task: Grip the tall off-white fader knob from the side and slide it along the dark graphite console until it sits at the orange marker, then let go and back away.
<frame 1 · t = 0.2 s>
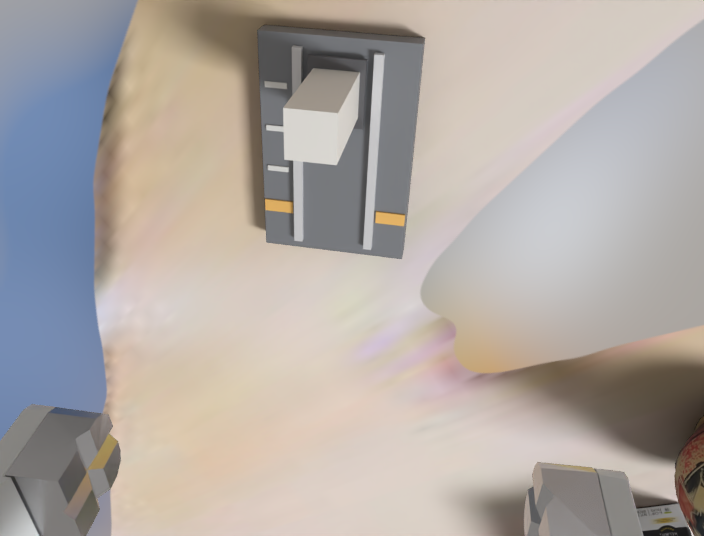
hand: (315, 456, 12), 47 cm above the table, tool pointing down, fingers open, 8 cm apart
console: (339, 146, 60), on the table
tea box: (626, 530, 83), on the table
fader knob: (324, 112, 50), point 8 cm above the table, slide at 0.0 cm
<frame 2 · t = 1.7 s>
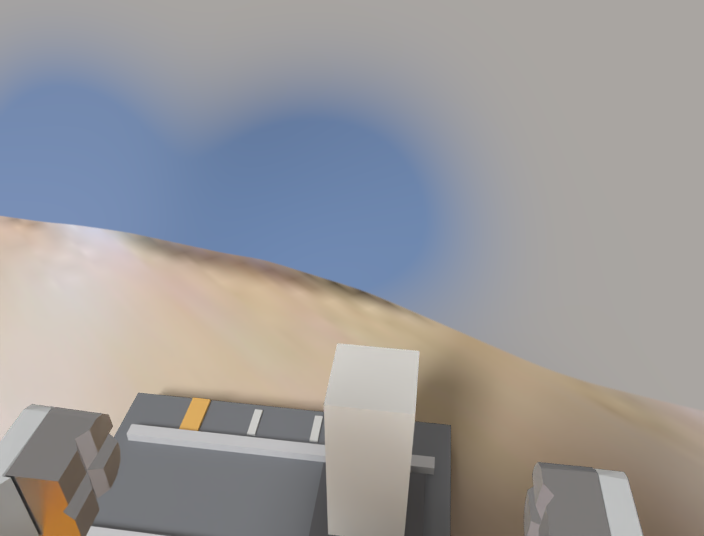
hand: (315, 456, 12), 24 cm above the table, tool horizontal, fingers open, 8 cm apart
console: (267, 521, 37), on the table
fader knob: (371, 450, 32), point 8 cm above the table, slide at 0.0 cm
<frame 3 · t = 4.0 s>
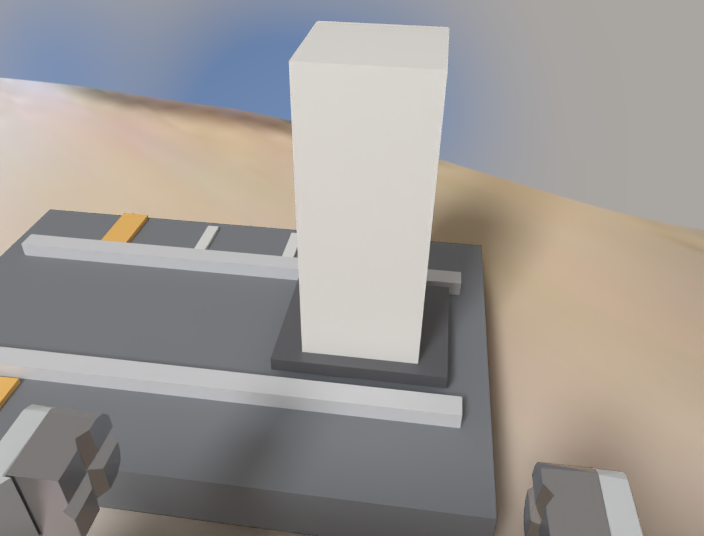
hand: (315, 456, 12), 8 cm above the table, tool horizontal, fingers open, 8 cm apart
console: (217, 359, 25), on the table
fader knob: (370, 208, 20), point 8 cm above the table, slide at 0.0 cm
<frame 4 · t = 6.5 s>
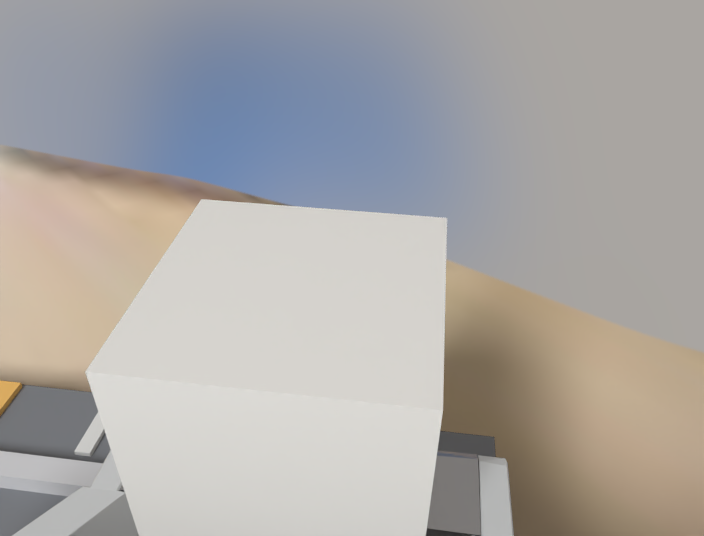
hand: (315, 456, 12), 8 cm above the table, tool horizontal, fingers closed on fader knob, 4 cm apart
fader knob: (308, 511, 12), point 8 cm above the table, slide at 0.0 cm, touching gripper
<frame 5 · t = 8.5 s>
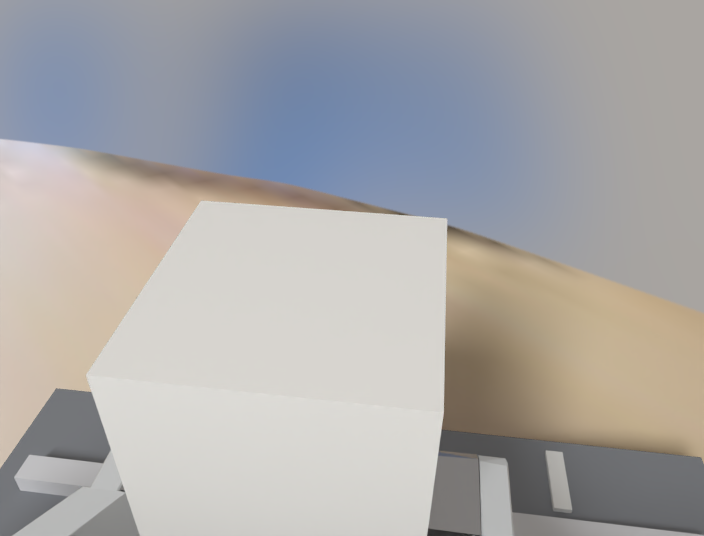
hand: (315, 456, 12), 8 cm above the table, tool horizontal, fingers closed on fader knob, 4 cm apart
fader knob: (309, 512, 12), point 8 cm above the table, slide at 6.2 cm, touching gripper
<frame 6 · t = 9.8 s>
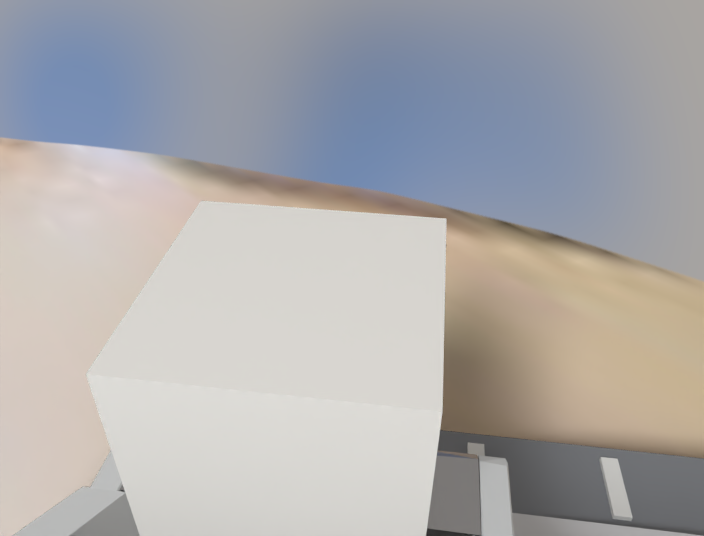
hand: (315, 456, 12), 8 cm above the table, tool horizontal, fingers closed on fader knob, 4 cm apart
fader knob: (308, 511, 12), point 8 cm above the table, slide at 11.9 cm, touching gripper
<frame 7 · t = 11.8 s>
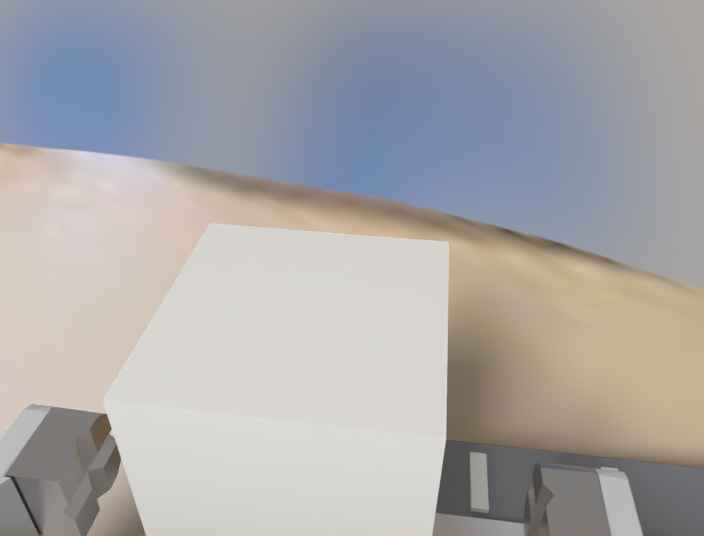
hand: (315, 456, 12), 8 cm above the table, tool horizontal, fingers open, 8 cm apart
fader knob: (313, 525, 12), point 8 cm above the table, slide at 11.9 cm
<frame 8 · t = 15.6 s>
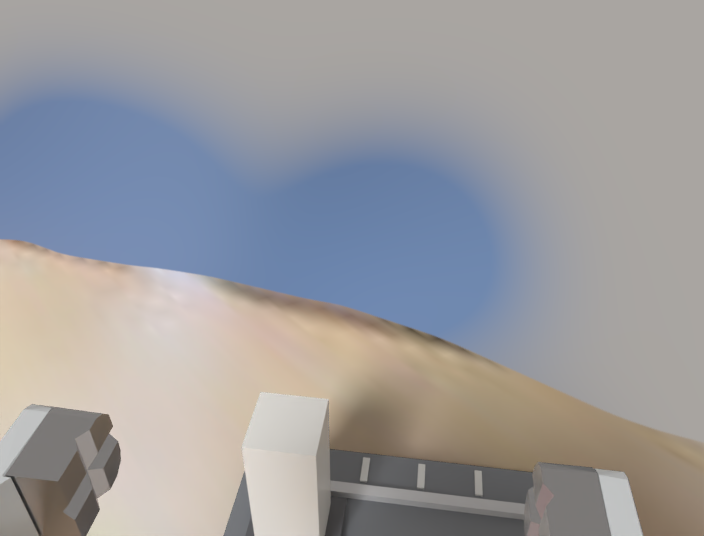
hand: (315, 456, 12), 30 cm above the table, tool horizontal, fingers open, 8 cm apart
fader knob: (291, 481, 38), point 8 cm above the table, slide at 11.9 cm
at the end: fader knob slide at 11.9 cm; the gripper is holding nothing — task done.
